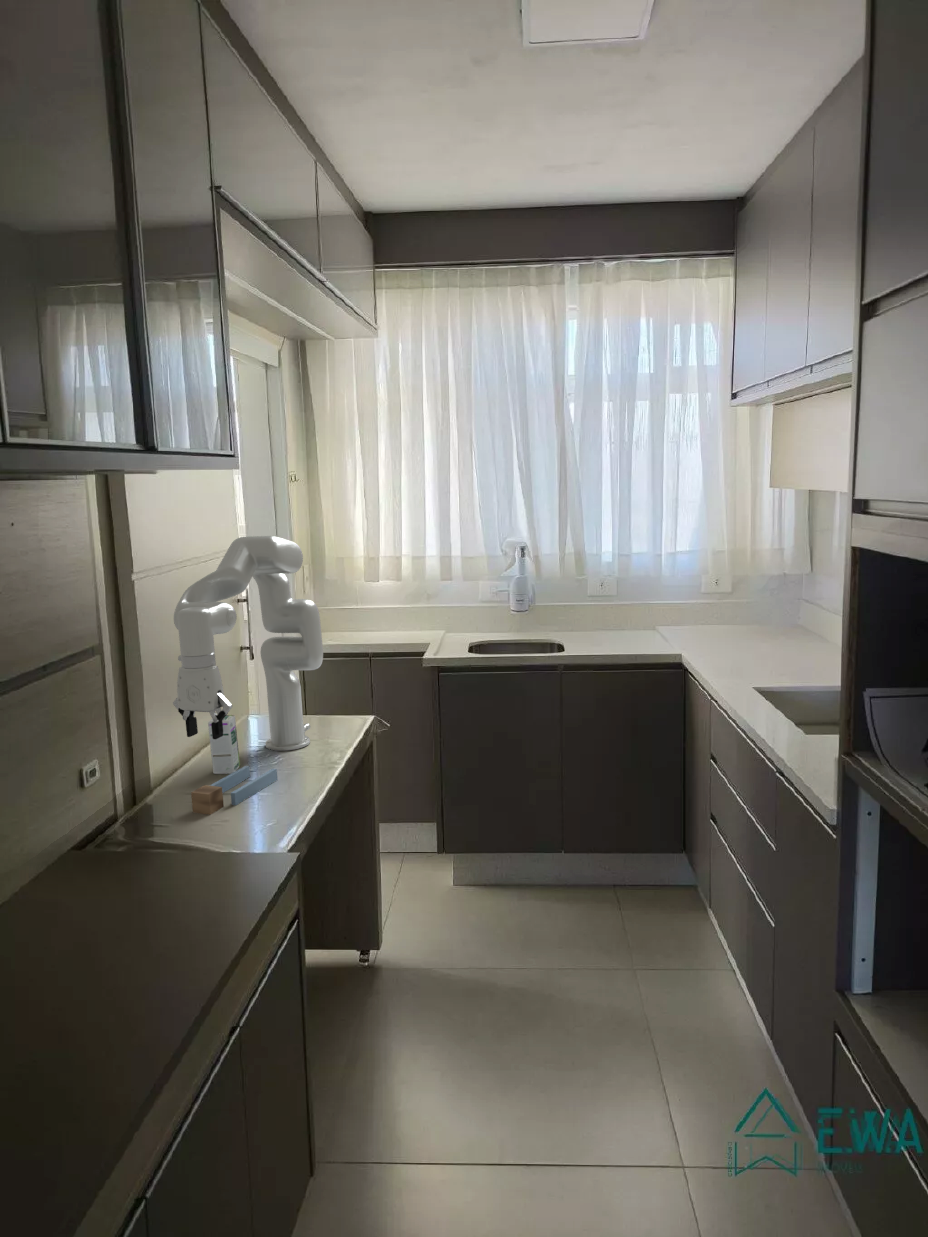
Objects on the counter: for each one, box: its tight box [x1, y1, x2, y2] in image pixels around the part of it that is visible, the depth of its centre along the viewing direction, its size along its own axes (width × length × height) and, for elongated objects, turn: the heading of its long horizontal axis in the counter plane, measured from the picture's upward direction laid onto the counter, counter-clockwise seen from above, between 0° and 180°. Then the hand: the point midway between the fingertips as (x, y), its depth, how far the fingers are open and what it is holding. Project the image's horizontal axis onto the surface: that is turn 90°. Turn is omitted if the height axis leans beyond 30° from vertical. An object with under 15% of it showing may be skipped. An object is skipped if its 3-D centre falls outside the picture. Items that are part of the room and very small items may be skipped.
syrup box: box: [207, 714, 241, 775], centre depth 237 cm, size 6×6×14 cm
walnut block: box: [190, 784, 225, 816], centre depth 210 cm, size 5×5×5 cm
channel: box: [209, 765, 278, 806], centre depth 222 cm, size 18×9×3 cm, turn 159°
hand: (205, 735), depth 209 cm, fingers open, 6 cm apart
